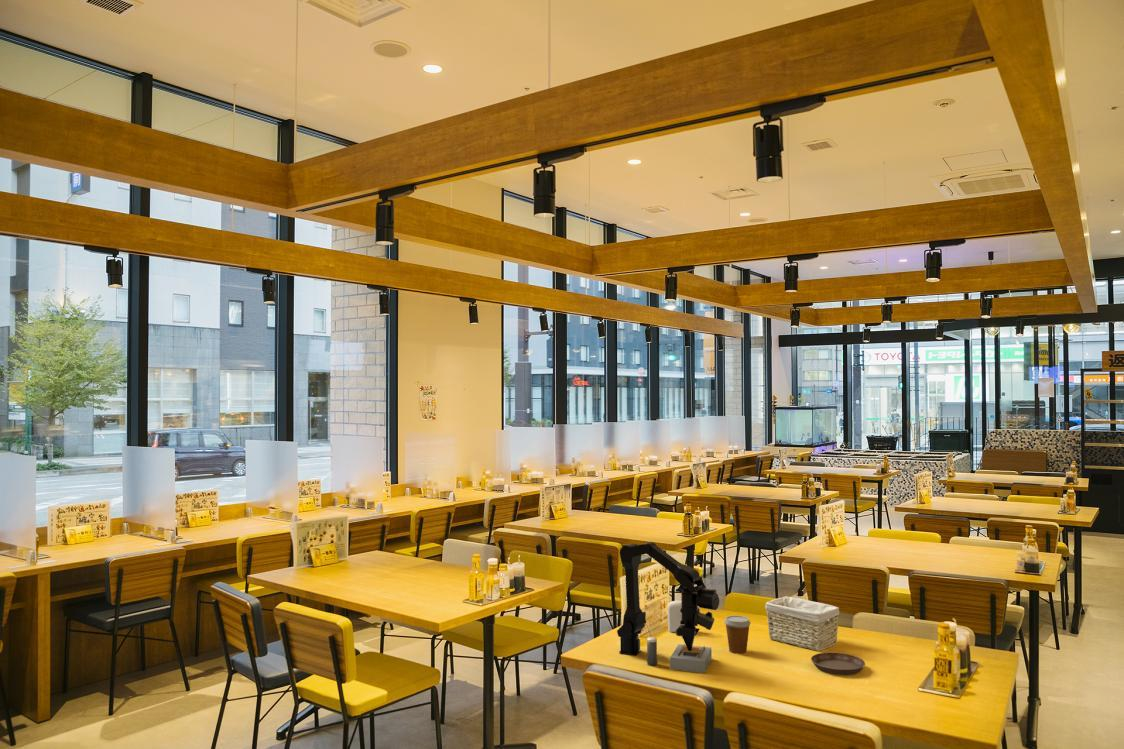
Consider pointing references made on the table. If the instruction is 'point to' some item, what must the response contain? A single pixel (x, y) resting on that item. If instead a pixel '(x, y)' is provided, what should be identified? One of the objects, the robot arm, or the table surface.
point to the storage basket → (802, 622)
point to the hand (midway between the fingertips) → (689, 650)
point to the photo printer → (674, 615)
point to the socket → (690, 660)
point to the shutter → (694, 649)
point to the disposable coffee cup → (737, 633)
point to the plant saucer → (838, 663)
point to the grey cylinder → (651, 651)
